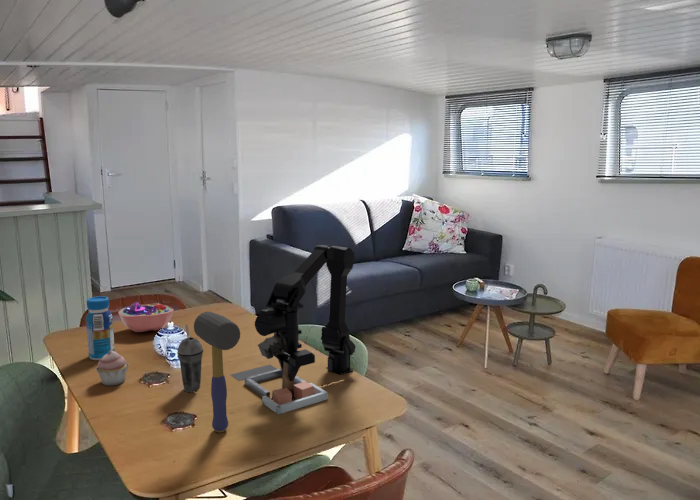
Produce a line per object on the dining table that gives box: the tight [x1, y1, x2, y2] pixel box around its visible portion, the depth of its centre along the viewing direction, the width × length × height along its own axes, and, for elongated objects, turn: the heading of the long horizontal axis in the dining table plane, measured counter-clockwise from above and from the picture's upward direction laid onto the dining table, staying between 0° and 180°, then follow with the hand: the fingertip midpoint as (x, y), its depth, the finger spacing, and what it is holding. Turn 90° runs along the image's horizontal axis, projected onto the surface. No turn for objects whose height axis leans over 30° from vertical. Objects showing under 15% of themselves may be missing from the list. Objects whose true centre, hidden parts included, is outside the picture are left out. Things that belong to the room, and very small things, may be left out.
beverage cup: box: [177, 324, 204, 393], centre depth 170 cm, size 7×7×20 cm
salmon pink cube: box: [293, 381, 314, 400], centre depth 167 cm, size 4×4×4 cm
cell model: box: [117, 301, 174, 333], centre depth 223 cm, size 17×20×11 cm
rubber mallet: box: [193, 311, 241, 433], centre depth 145 cm, size 12×8×30 cm, turn 39°
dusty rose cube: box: [272, 387, 293, 405], centre depth 163 cm, size 4×4×4 cm
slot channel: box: [244, 367, 307, 399], centre depth 173 cm, size 13×13×2 cm
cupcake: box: [95, 350, 130, 387], centre depth 176 cm, size 9×9×10 cm
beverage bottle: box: [85, 295, 116, 361], centre depth 196 cm, size 8×8×20 cm
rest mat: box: [230, 364, 278, 382], centre depth 183 cm, size 14×6×1 cm, turn 127°
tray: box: [261, 382, 329, 415], centre depth 164 cm, size 16×8×2 cm, turn 127°
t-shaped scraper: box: [271, 359, 299, 399], centre depth 166 cm, size 9×2×11 cm, turn 127°
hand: (288, 379), depth 166 cm, fingers closed on t-shaped scraper, 3 cm apart
